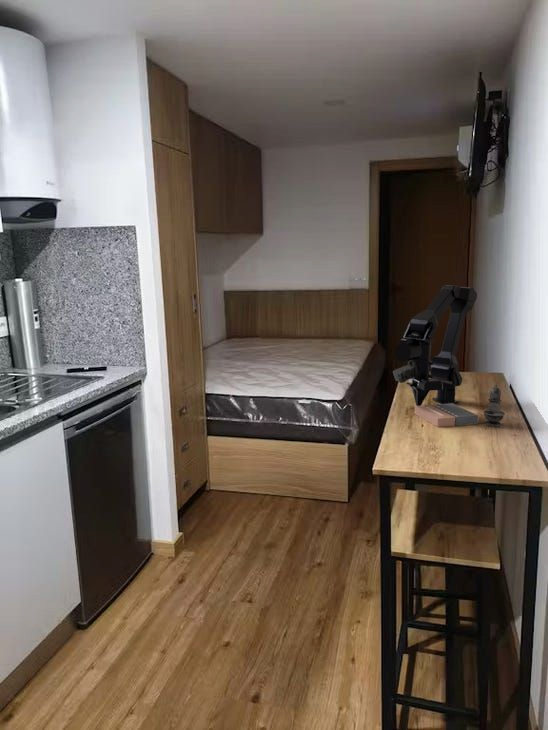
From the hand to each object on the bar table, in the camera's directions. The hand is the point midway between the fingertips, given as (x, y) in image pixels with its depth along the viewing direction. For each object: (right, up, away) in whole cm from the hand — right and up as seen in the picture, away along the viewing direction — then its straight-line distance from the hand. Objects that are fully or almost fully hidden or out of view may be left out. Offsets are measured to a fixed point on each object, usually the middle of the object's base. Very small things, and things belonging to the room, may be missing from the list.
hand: (418, 406), depth 178 cm
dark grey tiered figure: (+18, -5, -14) cm, 23 cm away
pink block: (+2, -3, -9) cm, 10 cm away
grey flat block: (+9, -3, -8) cm, 12 cm away
